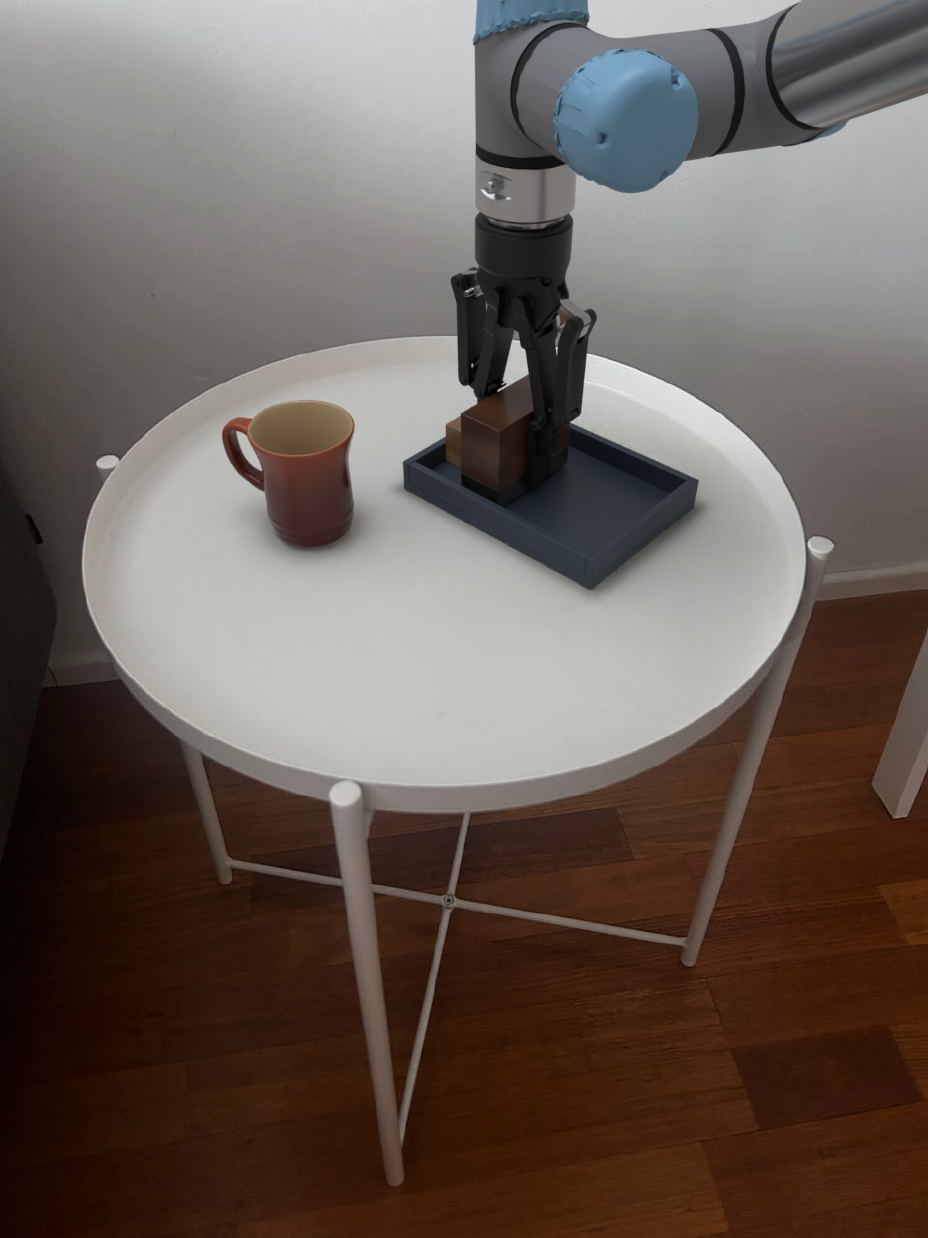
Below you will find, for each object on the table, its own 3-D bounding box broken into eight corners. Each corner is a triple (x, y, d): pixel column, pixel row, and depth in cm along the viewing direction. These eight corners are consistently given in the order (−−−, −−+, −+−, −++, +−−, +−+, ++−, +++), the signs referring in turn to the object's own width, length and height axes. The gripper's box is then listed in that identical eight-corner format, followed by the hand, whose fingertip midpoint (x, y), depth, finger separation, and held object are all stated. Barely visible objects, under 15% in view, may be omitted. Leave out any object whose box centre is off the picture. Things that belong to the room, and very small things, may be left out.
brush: (531, 446, 96) (534, 370, 91) (567, 462, 94) (573, 386, 89) (460, 490, 91) (460, 412, 86) (497, 510, 89) (499, 431, 83)
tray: (694, 507, 91) (699, 479, 89) (590, 590, 83) (594, 561, 81) (511, 422, 102) (513, 396, 100) (403, 488, 94) (402, 461, 92)
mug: (379, 511, 91) (372, 411, 84) (334, 568, 85) (323, 465, 78) (263, 482, 94) (247, 384, 87) (212, 535, 88) (191, 434, 81)
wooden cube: (505, 459, 95) (506, 422, 93) (477, 477, 93) (477, 439, 90) (473, 444, 97) (474, 407, 95) (445, 460, 95) (445, 424, 92)
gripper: (407, 198, 79) (418, 452, 95) (586, 257, 70) (565, 527, 86) (471, 173, 83) (471, 421, 99) (648, 226, 74) (617, 489, 90)
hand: (515, 470), depth 92 cm, fingers closed on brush, 4 cm apart
